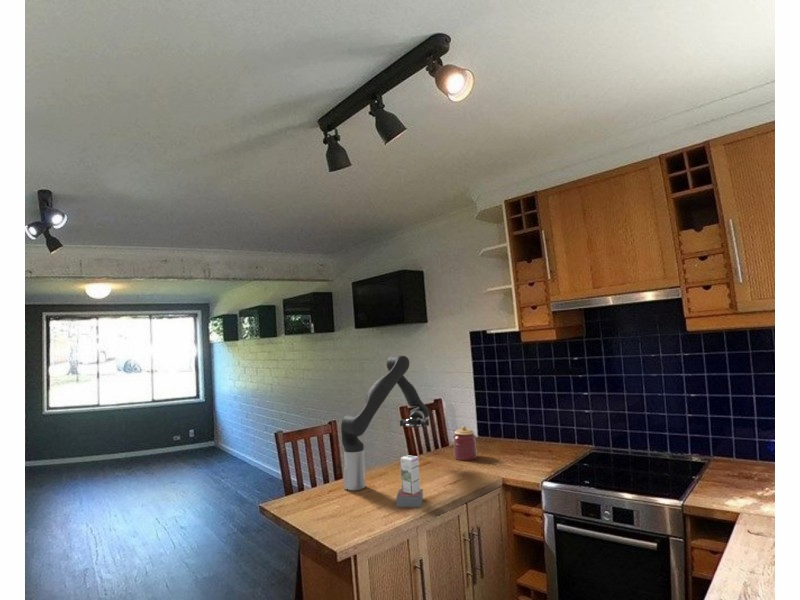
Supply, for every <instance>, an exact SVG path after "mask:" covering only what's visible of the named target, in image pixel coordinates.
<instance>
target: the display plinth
mask: <svg viewBox="0 0 800 600" xmlns="http://www.w3.org/2000/svg"><path fill="white" fill-rule="evenodd" d="M423 491H424V490H423V488H420V491H419V492H417V493H415V494H413V495H412V494H407V493H403V492H402V488H399V489H398V492H397V495H396V508H422V506H423V500H424V492H423Z"/></svg>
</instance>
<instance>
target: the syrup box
mask: <svg viewBox="0 0 800 600" xmlns="http://www.w3.org/2000/svg"><path fill="white" fill-rule="evenodd" d="M419 460H420V458H419V456H416V455H409V454H407V455H403V456H402V457H400V472H401V473H400V474H401V489H402V492H403V493H407V494H412V495H413V494H415V493H417V492H419V491H420V489H421V484H420V482H421V481H420V463H419V462H420V461H419Z"/></svg>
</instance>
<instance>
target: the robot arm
mask: <svg viewBox="0 0 800 600" xmlns="http://www.w3.org/2000/svg"><path fill="white" fill-rule="evenodd" d="M409 367H410V359H409V358H408V357H407V356H405V355H392V356H389V357H388V358H387V360H386V368H387V370H388V373H386V374H385V375H383V376H381V378H379V379H378V380H376V381H375V382H374V383H373V384H372V385H371V387H370V388H369V389H368V391H367V393H366V395H365V396H366V397H365V404H364V408H363V409H362V410H361V412H360V413H359V414H358V415H354V414H348V415H345V416H344V417H343V419H342V421H341V423H340V424H341V427H340V429H341V430H340V431H341V432H340V433H341V442H342V446H343V450H344V455H343V456H344V468H343V488H344V490H347V489H348V491H360V490H363V489H365V487H366V477H365V476H366V473H365V472H366V471H365V470H366V469H365V446H364V443H363V442H362V441H361V440H360V439H359V437H361V436H362V435H363V434H364V433H365V432H366V430H367V429H368V427H369V426H370V423H371V422H372V420H373V418H374V417H375V415H376V414H377V412H378V411H379V409H380V407H381V406H382V405H383V403H384V402H385V401H386V399H387V398H388V396H389V394H390V393H391V391H392V390H393V388H395V385H398V387H399V388H400V390H401V392H402V394H403V395H404V398H405V400H406V402H407V405H408V406H409V407H410V408H413V409H411V410H410V411H409V416H408V418H407V419H406V418H401V419H400V420H399V427H403V428H406V427H411V428H413V429H418V428H420V427H421V428H424V427H428V426H429V425H430V419H429V416H430V410H429V408H428V407H427V405H426V404H424V402H423V401H422V399H421V398H420V396H419V394H418V391H417V390H416V388H415V386H414V385H413V384H412V383H411V382H410V381H409V380H408V379H407V378H406V377H405V373H407V371H408V369H409Z"/></svg>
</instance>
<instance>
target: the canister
mask: <svg viewBox="0 0 800 600" xmlns="http://www.w3.org/2000/svg"><path fill="white" fill-rule="evenodd" d="M474 433H475V430H474V431H473V430H472V428H467V427H466V425H462V426H461V428H458V429H456V430H455V431H454V435H452V438H453V442H452V443H453V457H454V459H455V460H458V461H472V460H473V461H474V460H475V459H477V457H478V454H477V453H478V452H477V441H476V437H477V435H476V434H474Z"/></svg>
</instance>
